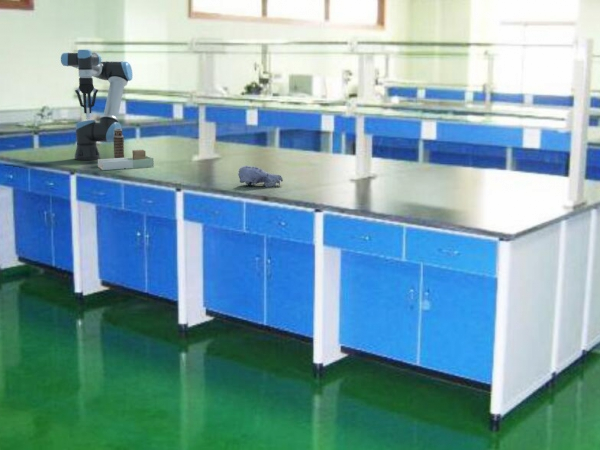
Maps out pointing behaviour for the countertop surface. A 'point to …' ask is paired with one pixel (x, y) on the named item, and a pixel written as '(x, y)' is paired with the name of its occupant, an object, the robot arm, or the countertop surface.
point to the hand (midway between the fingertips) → (88, 119)
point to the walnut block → (139, 154)
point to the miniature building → (118, 143)
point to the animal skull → (258, 176)
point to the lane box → (125, 163)
